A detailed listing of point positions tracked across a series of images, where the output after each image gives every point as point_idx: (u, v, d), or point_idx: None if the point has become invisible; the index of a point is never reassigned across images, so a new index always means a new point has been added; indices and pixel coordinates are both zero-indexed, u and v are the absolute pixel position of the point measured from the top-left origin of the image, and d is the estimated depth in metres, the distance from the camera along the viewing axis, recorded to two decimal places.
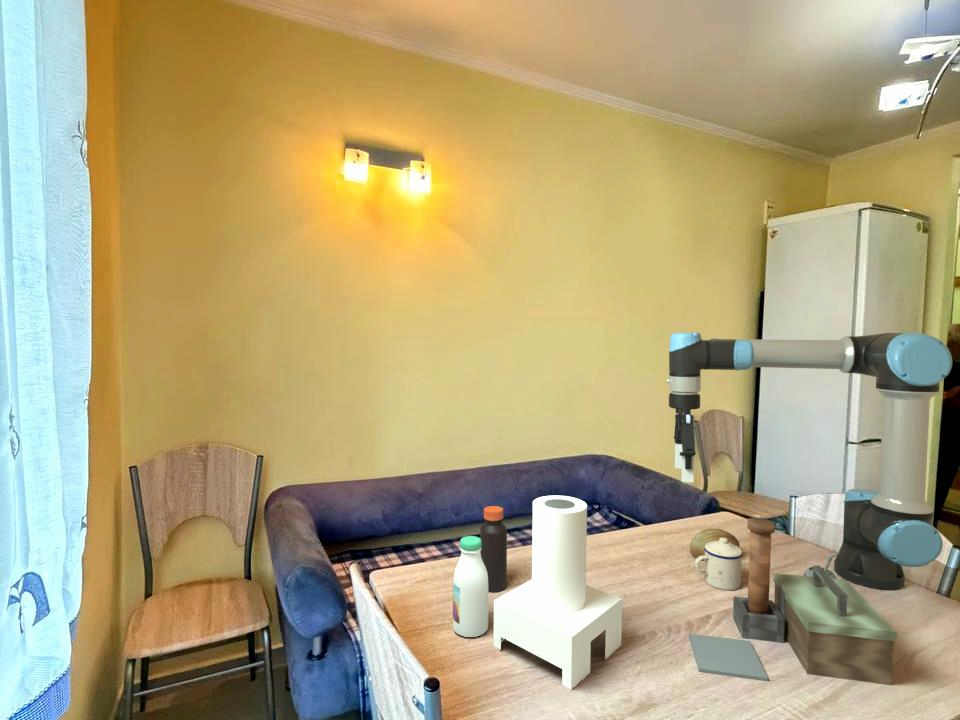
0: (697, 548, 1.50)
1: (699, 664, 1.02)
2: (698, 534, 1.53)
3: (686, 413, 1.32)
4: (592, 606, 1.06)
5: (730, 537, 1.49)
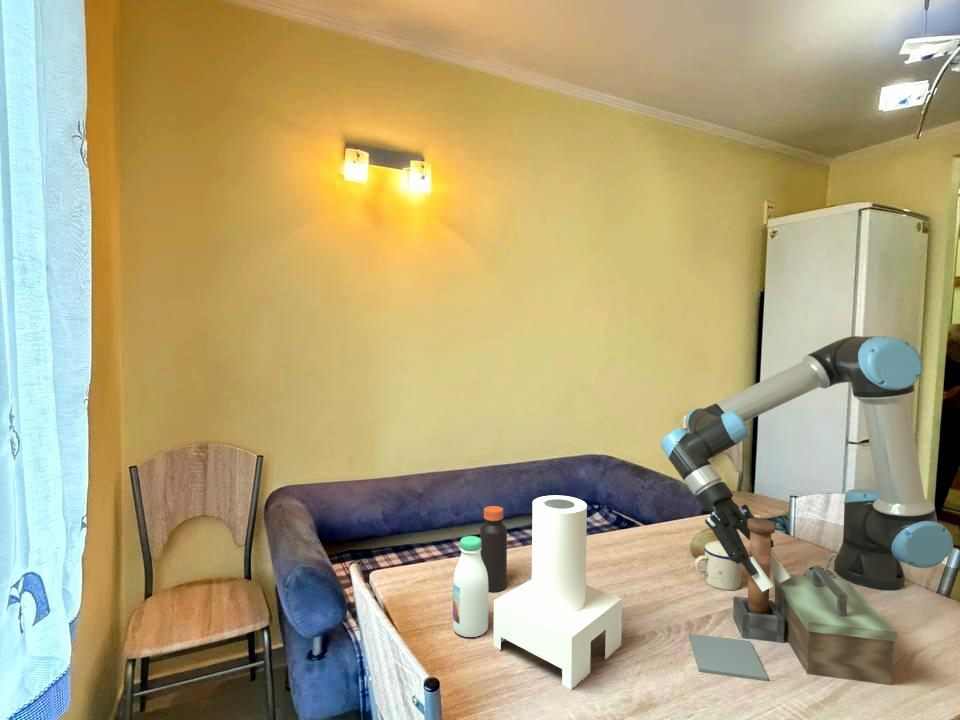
0: (697, 548, 1.50)
1: (699, 664, 1.02)
2: (698, 534, 1.53)
3: (712, 510, 1.20)
4: (592, 606, 1.06)
5: None
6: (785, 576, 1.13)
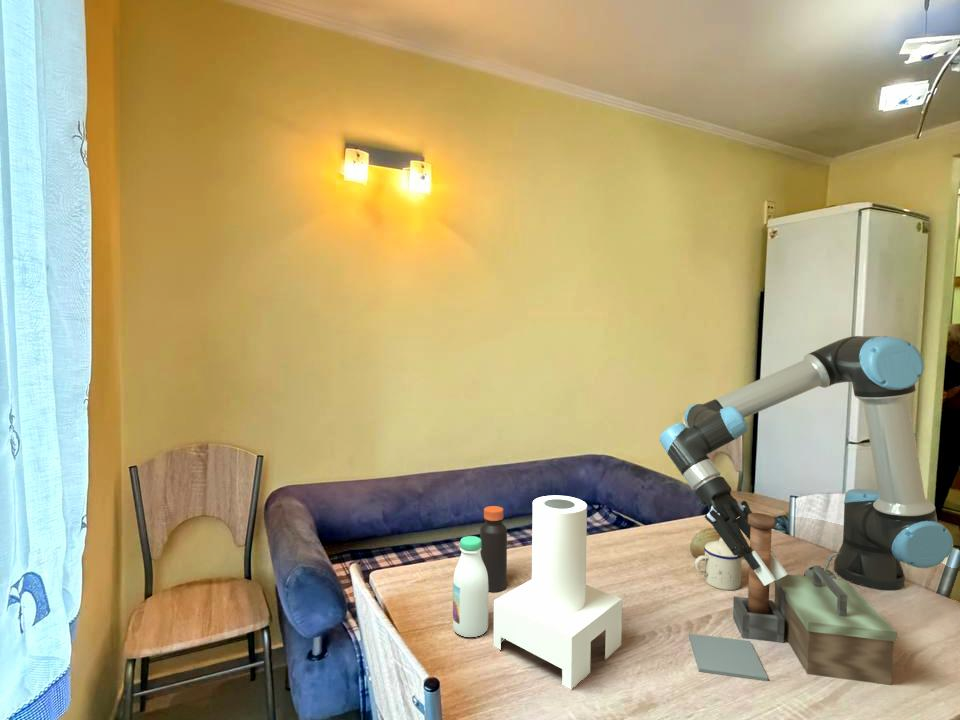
0: (697, 548, 1.50)
1: (699, 664, 1.02)
2: (698, 533, 1.53)
3: (711, 504, 1.20)
4: (592, 606, 1.06)
5: None
6: (782, 573, 1.12)
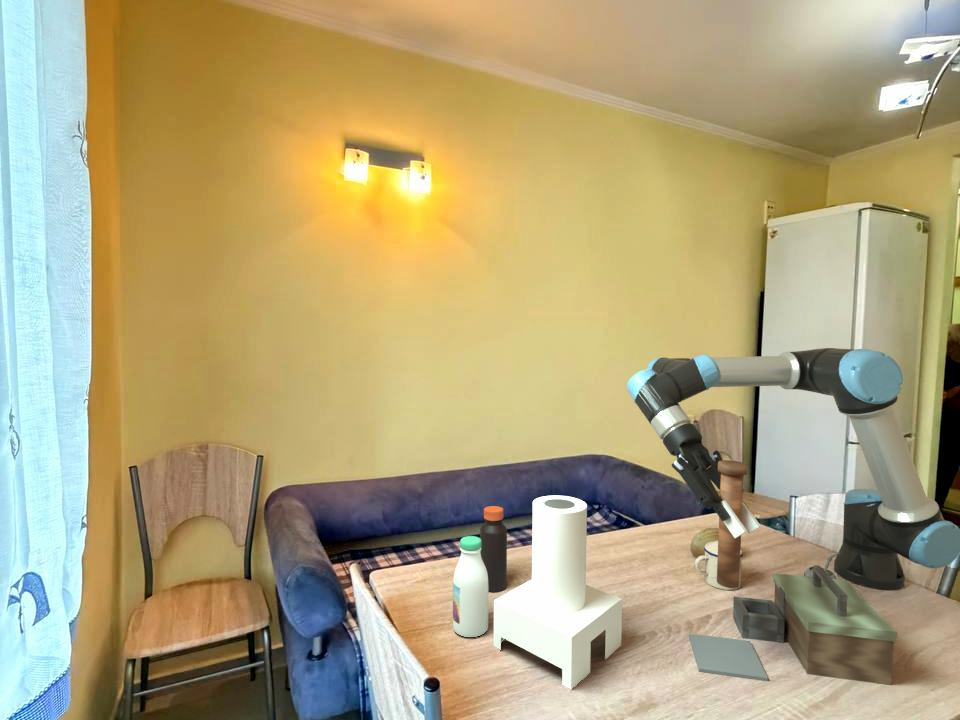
0: (698, 547, 1.50)
1: (699, 664, 1.02)
2: (699, 533, 1.53)
3: (679, 452, 1.09)
4: (592, 606, 1.06)
5: None
6: (755, 525, 1.02)
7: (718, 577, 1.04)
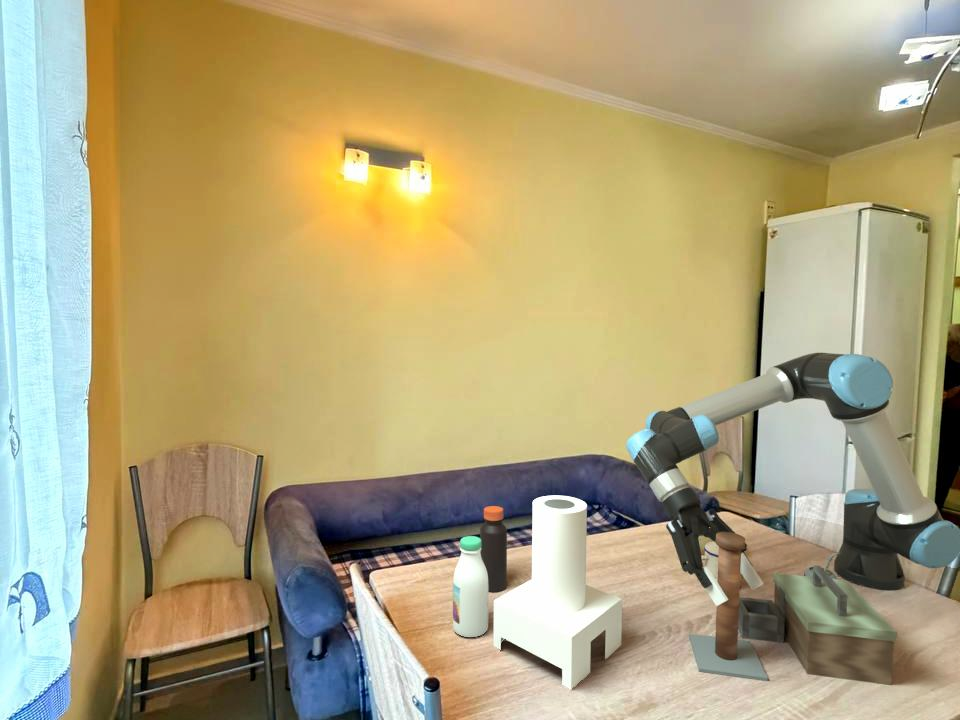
0: None
1: (699, 664, 1.02)
2: None
3: (677, 518, 1.10)
4: (592, 606, 1.06)
5: None
6: (758, 582, 1.05)
7: (716, 648, 1.05)
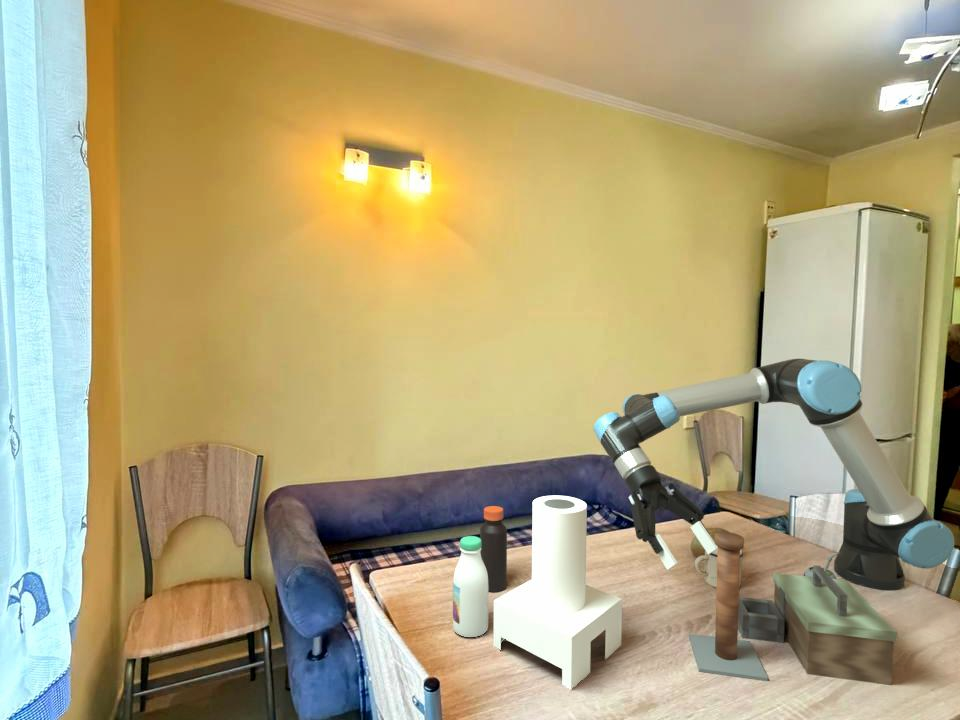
0: (698, 547, 1.51)
1: (699, 664, 1.02)
2: None
3: (638, 493, 1.19)
4: (592, 606, 1.06)
5: None
6: (713, 547, 1.15)
7: (716, 649, 1.05)
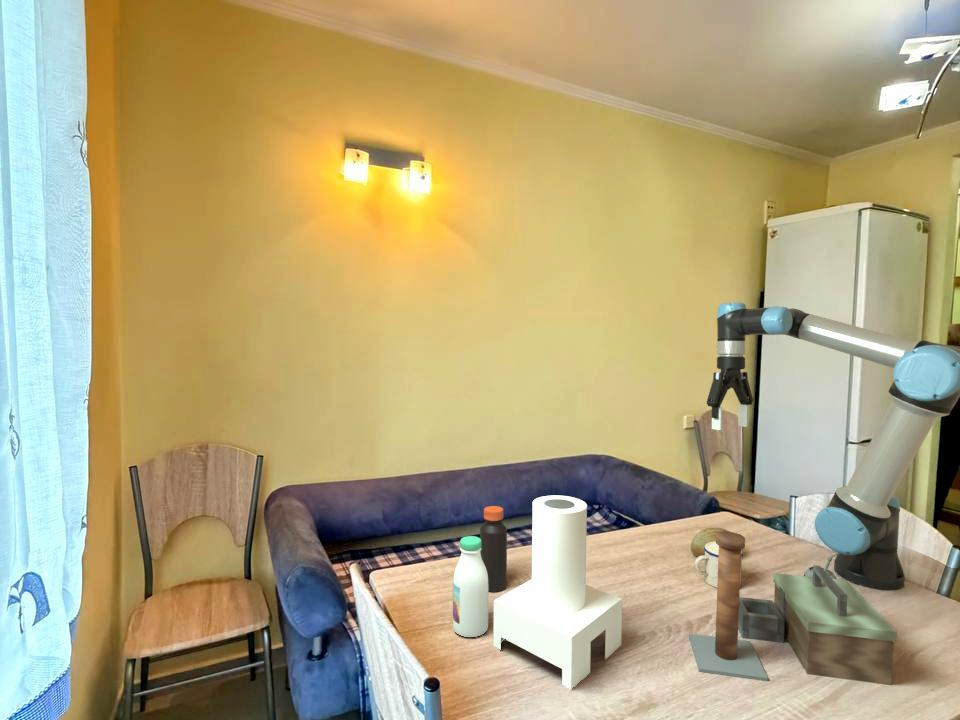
0: (698, 547, 1.51)
1: (699, 664, 1.02)
2: (699, 533, 1.54)
3: (723, 372, 1.53)
4: (592, 606, 1.06)
5: None
6: (745, 424, 1.58)
7: (716, 648, 1.05)
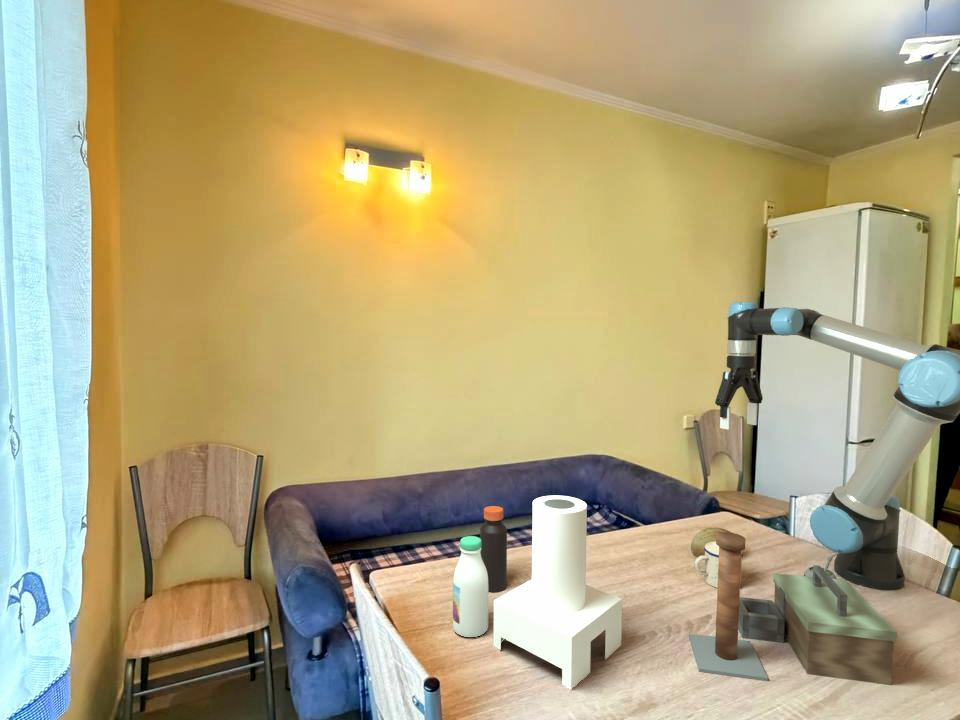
0: (698, 547, 1.51)
1: (699, 664, 1.02)
2: (699, 533, 1.54)
3: (733, 371, 1.54)
4: (592, 606, 1.06)
5: None
6: (754, 423, 1.59)
7: (716, 648, 1.05)
